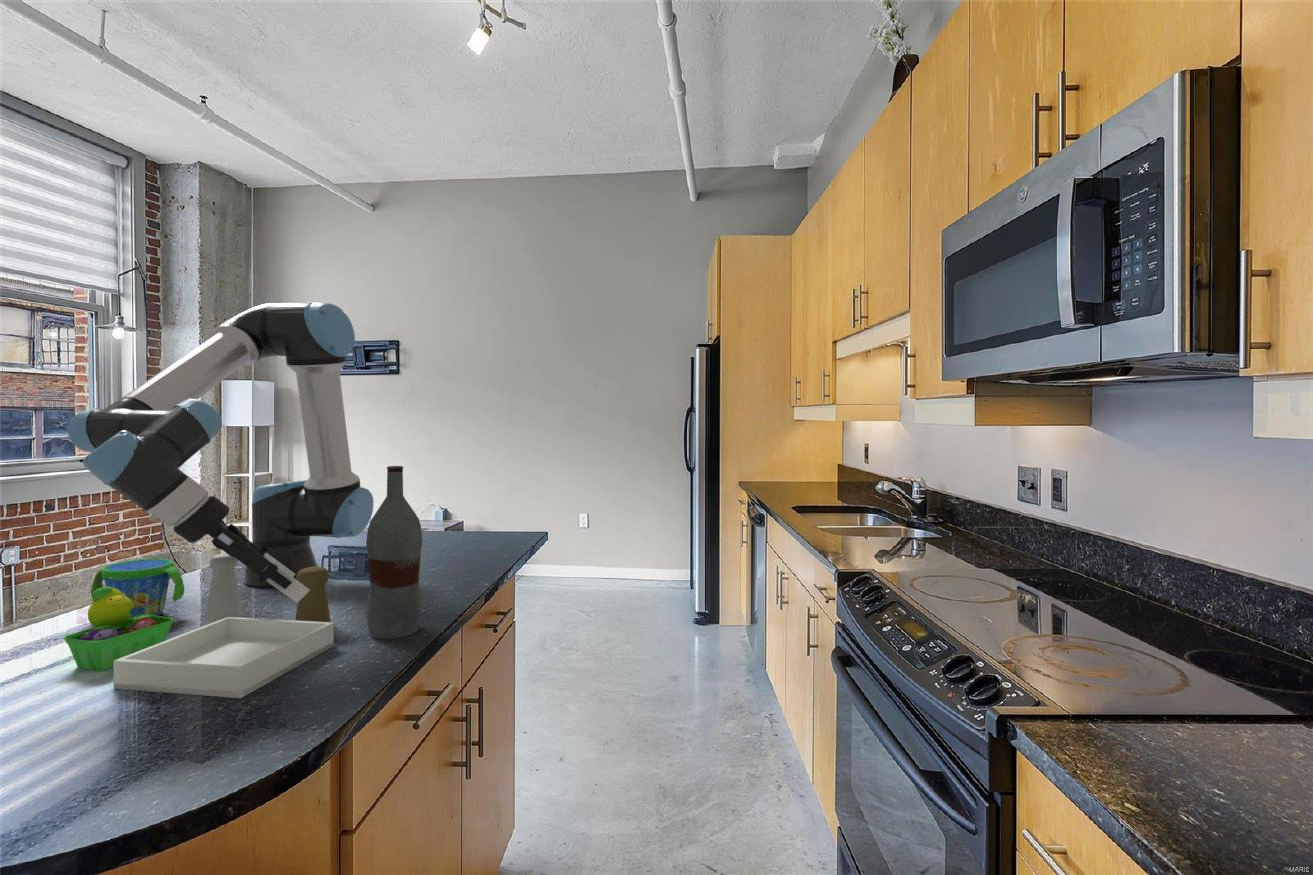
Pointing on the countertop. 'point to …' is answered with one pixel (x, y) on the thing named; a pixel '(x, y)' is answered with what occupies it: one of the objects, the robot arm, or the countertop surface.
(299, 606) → the cork
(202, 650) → the bin
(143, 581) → the snack cup
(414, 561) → the bottle
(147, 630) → the fruit basket
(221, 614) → the salt shaker
